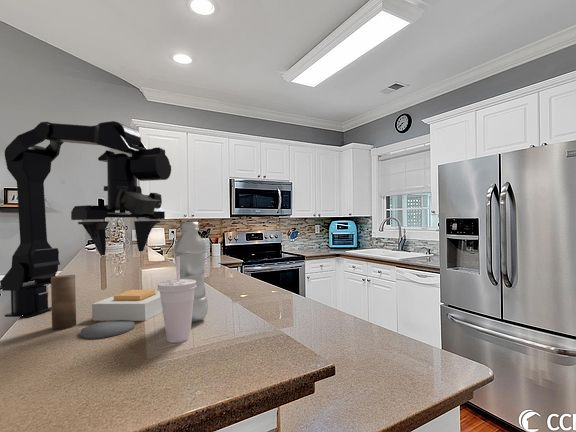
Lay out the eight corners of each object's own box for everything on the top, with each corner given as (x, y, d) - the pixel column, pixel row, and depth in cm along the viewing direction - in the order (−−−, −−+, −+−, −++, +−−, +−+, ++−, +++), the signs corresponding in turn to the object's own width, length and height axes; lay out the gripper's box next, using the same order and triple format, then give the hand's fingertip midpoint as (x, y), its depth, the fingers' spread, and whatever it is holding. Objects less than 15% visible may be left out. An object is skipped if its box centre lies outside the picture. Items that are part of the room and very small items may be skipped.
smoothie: (203, 332, 59) (201, 254, 59) (189, 345, 53) (186, 258, 53) (169, 332, 60) (167, 255, 60) (151, 345, 53) (149, 259, 54)
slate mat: (68, 338, 58) (68, 335, 58) (102, 322, 67) (102, 319, 67) (114, 338, 57) (114, 335, 57) (143, 322, 66) (143, 319, 66)
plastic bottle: (167, 324, 64) (164, 223, 65) (189, 315, 71) (187, 222, 71) (194, 327, 62) (191, 222, 62) (215, 317, 68) (212, 221, 69)
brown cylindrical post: (46, 329, 64) (45, 278, 64) (63, 323, 68) (62, 274, 68) (65, 329, 63) (64, 278, 64) (80, 323, 67) (79, 274, 67)
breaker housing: (92, 320, 69) (92, 303, 69) (127, 305, 81) (126, 291, 81) (145, 320, 68) (145, 303, 68) (173, 305, 80) (172, 291, 80)
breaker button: (113, 300, 72) (113, 295, 72) (130, 294, 78) (130, 289, 78) (140, 300, 71) (140, 295, 71) (155, 293, 77) (155, 289, 77)
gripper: (104, 173, 60) (105, 259, 60) (181, 183, 76) (182, 250, 76) (69, 178, 65) (69, 257, 65) (148, 186, 82) (148, 249, 81)
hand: (122, 253), depth 72 cm, fingers open, 9 cm apart
